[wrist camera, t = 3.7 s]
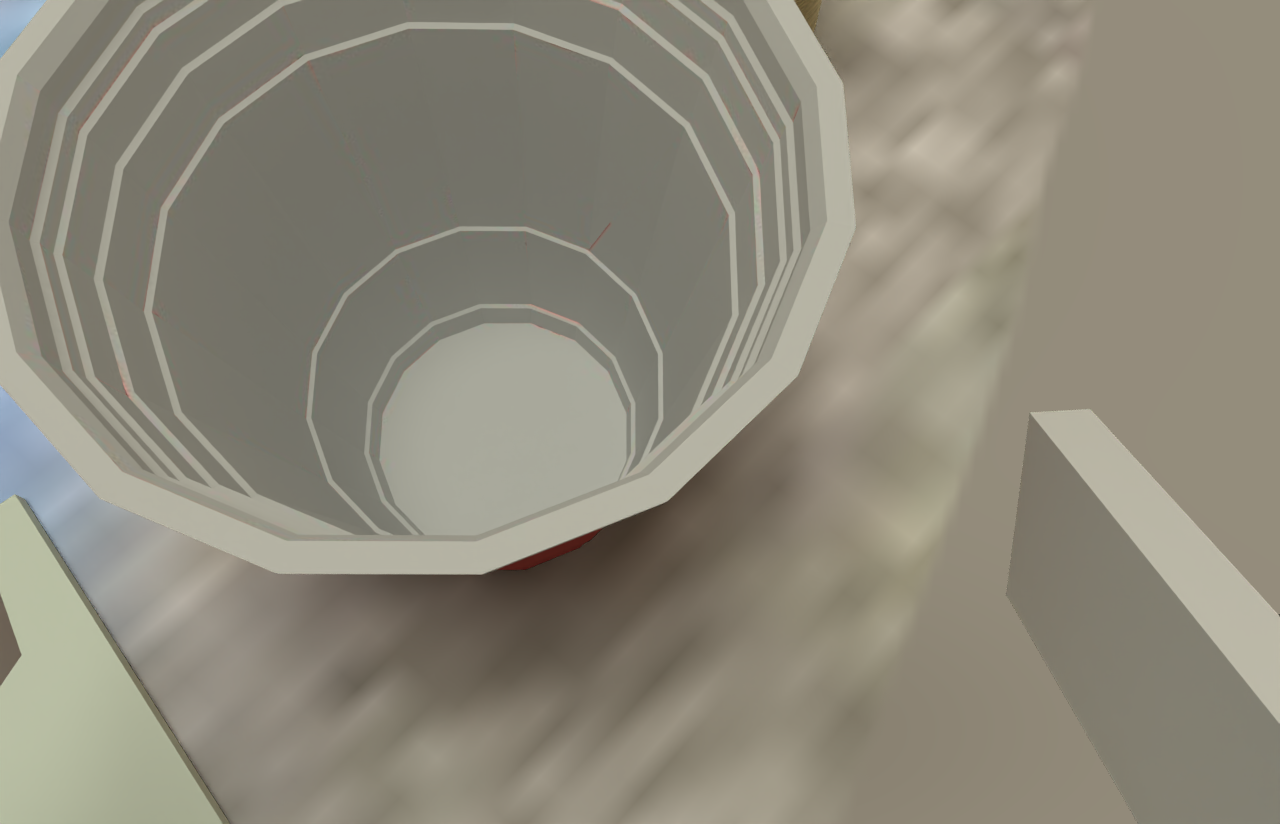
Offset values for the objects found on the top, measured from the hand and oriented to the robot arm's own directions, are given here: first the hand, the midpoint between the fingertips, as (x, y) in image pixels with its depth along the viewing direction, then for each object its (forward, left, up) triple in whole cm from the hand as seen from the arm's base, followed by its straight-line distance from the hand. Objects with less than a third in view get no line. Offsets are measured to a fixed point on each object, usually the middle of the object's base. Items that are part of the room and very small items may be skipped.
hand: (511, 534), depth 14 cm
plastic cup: (-4, +2, -10) cm, 11 cm away
